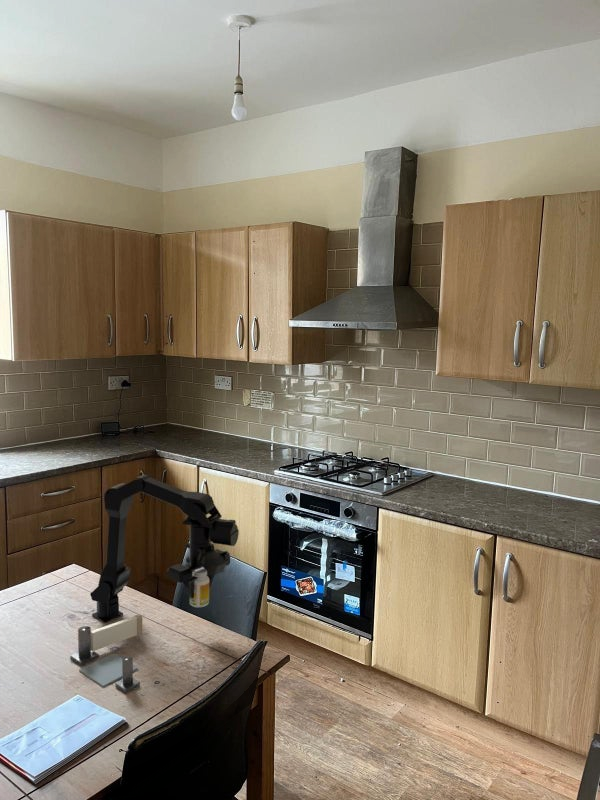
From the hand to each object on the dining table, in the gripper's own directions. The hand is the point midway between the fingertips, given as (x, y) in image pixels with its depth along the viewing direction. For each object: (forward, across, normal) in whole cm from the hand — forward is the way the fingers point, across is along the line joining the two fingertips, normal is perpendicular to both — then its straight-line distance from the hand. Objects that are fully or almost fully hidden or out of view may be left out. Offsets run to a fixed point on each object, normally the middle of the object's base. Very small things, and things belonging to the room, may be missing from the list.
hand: (199, 594), depth 167 cm
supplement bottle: (+3, 0, 0) cm, 3 cm away
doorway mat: (+11, -27, +3) cm, 29 cm away
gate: (+10, -19, +11) cm, 24 cm away
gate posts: (+11, -28, +3) cm, 30 cm away
